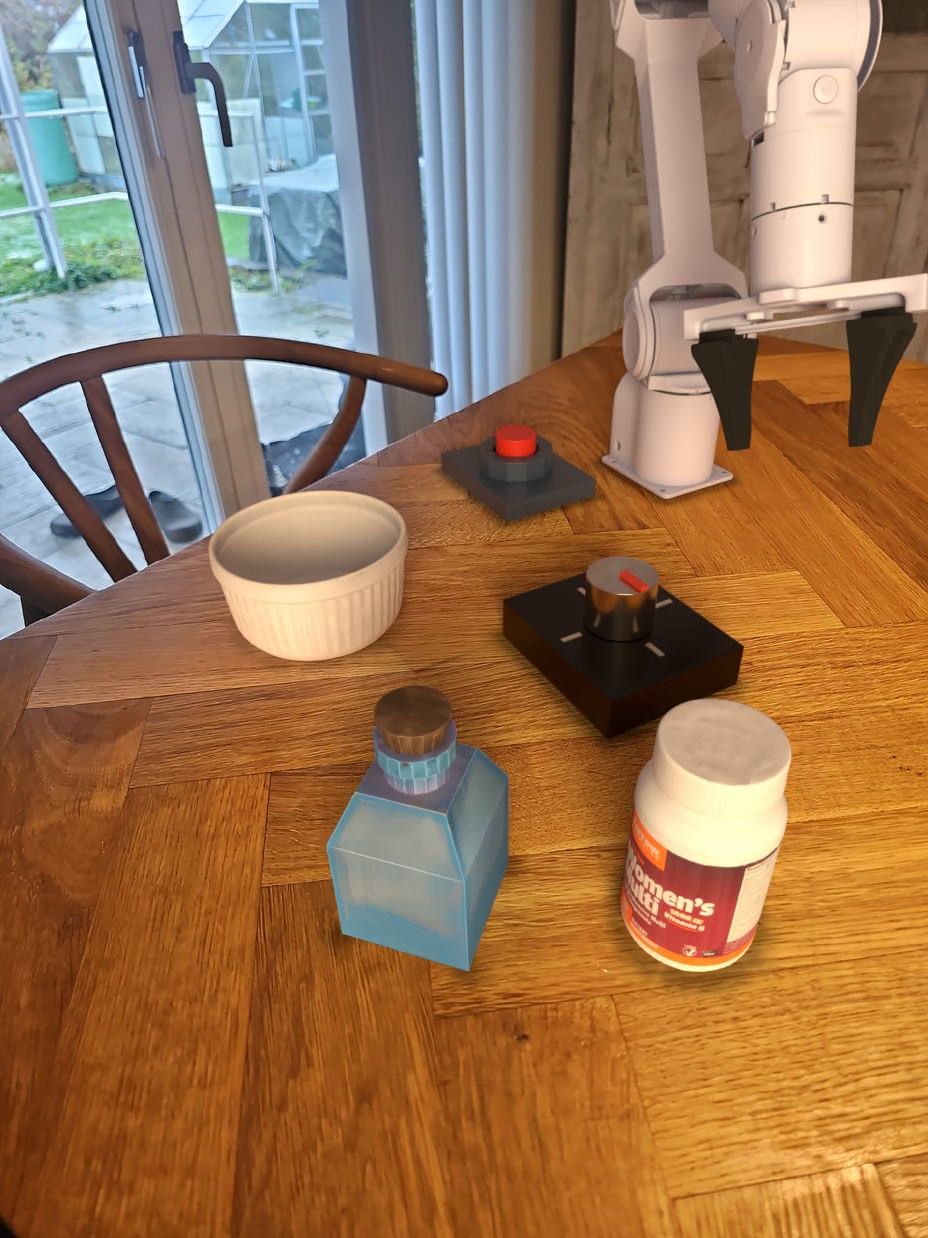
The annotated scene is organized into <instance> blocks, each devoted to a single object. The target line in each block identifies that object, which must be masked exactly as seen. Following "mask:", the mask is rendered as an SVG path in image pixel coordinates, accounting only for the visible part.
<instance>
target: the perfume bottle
mask: <svg viewBox="0 0 928 1238" xmlns="http://www.w3.org/2000/svg"><path fill="white" fill-rule="evenodd" d="M452 713H453V705H452V701H451V700H450V699H449V697H448V695H446V694H445V693H444V692H442V691H441V690H440V689H438V688H435V687H432V686H430V685H422V684H410V685H403V686H399V687H396V688H393V689H391V690H390V691H388V692H386V693H384V694H383V695H382V696H381V697H380V698H379V699H378V700H377V701H376V703H375V706H374V709H373V717H374V718H373V719H374V721H375V726H374V729H373V731H372V738H373V741H372V742H373V749H374V750H373V751H374V759H373V761H372V763H371V764H370V766H369V768H368V770H367V771H366V773H365V774H364V776H363V778H362V779H361V781H360V783H359V784H358V786H357V788H356V790H355V791H354V793H353V795H352V797H351V798H350V801H349V802H348V804H347V806H346V808H345V810H344V812H343V814H342V815H341V818H340V819H339V821H338V822H337V825H336V827H335V828H334V830H333V832H332V834H331V836H330V838H329V840H328V842H327V843H326V852H327V856H328V863H329V867H330V874H331V879H332V884H333V889H334V895H335V900H336V907H337V911H338V916H339V917H338V918H339V922H340V929H341V934H342V935H346V936H349V937H352V938H354V939H355V938H356V939H359V940H362V941H366V942H369V943H372V944H376V945H379V946H382V947H386V948H389V949H391V950H395V951H398V952H402V953H404V954H405V953H406V954H409V955H412V956H415V957H417V958H418V957H419V958H422V959H425V960H428V961H432V962H436V963H439V964H440V965H441V964H442V965H445V966H448V967H451V968H455V969H459V970H462V971H465V972H469V971H470V968H471V966H472V963H473V960H474V957H475V955H476V952H477V949H478V948H479V944H480V941H481V938H482V936H483V933H484V931H485V928H486V925H487V924H488V923H487V922H488V920H489V917H490V914H491V912H492V909H493V906H494V904H495V902H496V898H497V895H498V893H499V890H500V888H501V885H502V883H503V879H504V877H505V874H506V872H507V868H508V867H509V813H510V812H509V811H510V810H509V805H510V804H509V803H510V801H509V800H510V797H509V796H510V795H509V793H510V791H509V790H510V789H509V788H510V787H509V785H510V783H509V782H510V781H509V779H510V777H509V775H508V774H507V773H506V772H505V771H504V770H503V769H501V767H499V765H498V764H496V763H495V762H494V761H493V760H492V759H490V758H489V756H488V755H486V754H485V753H484V752H483V751H482V750H480V748H478V747H476V746H472V745H467V744H463V743H459V742H458V731H457V725H456V723H455V721H454V720H453V718H452Z"/></svg>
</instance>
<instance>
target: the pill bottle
mask: <svg viewBox="0 0 928 1238" xmlns="http://www.w3.org/2000/svg"><path fill="white" fill-rule="evenodd" d="M791 762H792V748H791V743H790V740H789V738H788V735H787V734H786V733H785V731H784V730H783V729H782V727H781V726H780V725H779V724H778V723H777V722H776V721H775V720H774V719H773V718H771V717H770V716H769V715H767V714H765V712H762V710H761V711H760V710H759V709H757V708H755V707H752V706H750V705H747V704H745V703H742V702H738V701H735V700H730V699H724V698H710V697H709V698H703V699H697V700H692V701H688V702H685V703H682V704H679V705H678V706H676V707H674V708H672V709H671V710H670V711H668V712H667V713H666V714H665V715H664V716H662V718H661V720H660V721H659V722H658V725H657V728H656V735H655V741H654V746H653V750H652V757H651V759H649V760H648V761H647V763H645V764H644V766H643V767H642V769H641V771H640V773H639V775H638V778H637V780H636V784H635V789H634V794H633V803H632V813H631V820H630V827H629V835H628V839H627V840H628V841H627V847H626V848H627V849H626V855H625V863H624V871H623V878H622V884H621V885H622V886H621V892H620V893H621V894H620V909H621V915H622V919H623V922H624V925H625V927H626V929H627V931H628V933H629V934H630V936H631V938H633V940H634V941H635V943H636V944H637V945H638V946H639V948H641V949H643V951H644V952H645V953H647V954H648V955H650V956H651V957H653V958H654V959H656V960H657V961H659V962H661V963H663V964H665V965H667V966H669V967H672V968H675V969H678V970H681V971H685V972H699V973H700V972H701V973H703V972H711V971H716V970H720V969H723V968H726V967H728V966H730V965H732V964H734V963H735V962H737V961H738V960H739V959H740V958H741V957H743V956H744V954H745V953H746V952H747V951H748V950H749V948H750V946H751V944H752V943H753V940H754V937H755V935H756V931H757V929H758V925H759V923H760V919H761V915H762V911H763V908H764V904H765V900H766V897H767V894H768V890H769V887H770V883H771V880H772V877H773V874H774V873H773V872H774V870H775V866H776V863H777V860H778V855H779V852H780V849H781V845H782V842H783V838H784V836H785V833H786V832H785V831H786V827H787V824H788V817H789V816H788V814H789V813H788V803H787V798H786V795H785V793H784V792H785V789H786V785H787V781H788V780H787V779H788V774H789V771H790V767H791Z"/></svg>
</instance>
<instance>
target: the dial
mask: <svg viewBox="0 0 928 1238" xmlns="http://www.w3.org/2000/svg"><path fill="white" fill-rule="evenodd" d="M586 572H587V573H586V587H585V603H584V624H585V626H586V627H587V629H588V630H589V631H591V632H592V633H593V634H595V635H597V636H599V637H601V638H604V639H607V640H612V641H632V640H636V639H640V638H642V637H644V636H646V635H647V634H648V633H649V632H650V631H651V630H652V628H653V624H654V616H655V608H656V600H657V592H658V585H660V584H659V582H660V575H659V572H658V571H657V569H656V568H655V566H653V565H651V564H650V563H648V562H646V561H644V560H643V559H639V558H636V557H631V556H622V555H621V556H619V555H615V556H614V555H613V556H606V557H603V558H600V559H597V560H595V561H594V562H592V563H591V564H590V565H589V566H588V567H587V570H586Z"/></svg>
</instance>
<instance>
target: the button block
mask: <svg viewBox="0 0 928 1238" xmlns="http://www.w3.org/2000/svg"><path fill="white" fill-rule="evenodd" d="M440 457H441V458H440V461H441V463H440V464H441V471H443V473H445V474H446V475H448V476H449V477H450V478H451V479H452V480H454V482H456V483H458V484H459V485H460V486H461V487H462V488H464V490H466V491H468V492H469V493H470V494H471V495H473V496H474V497H475V498H476V499H477V500H479V501H480V502H482V504H484V505H485V506H486V507H488V508H489V509H490V510H491V511H493V512H494V513H495V514H496V515H498V516H499V517H500V518H501V519H503V520H504V521H505V522H507V523H509V522H512V521H515V520H519V519H522V518H526V517H529V516H533V515H535V514H540V513H543V512H546V511H549V510H553V509H556V508H560V507H563V506H566V505H570V504H573V503H576V502H579V501H583V500H586V499H590V498H594V497H595V496H596V495H595V494H596V493H595V492H596V481H597V480H596V479H595V478H594V477H592V476H591V475H589V474H588V473H587V472H585V471H583V470H581V469H580V468H578V467H577V466H575V465H574V464H573V463H570V462H569V461H567V460H565V459H564V458H563V457H561V456H559V455H558V454H556V453H555V452H554V449H553V443H552V442H551V441H549V440H548V439H546V438H544V437H543V436H541V435H537V434H536V452H535V454H533V455H529V456H525V457H506V456H501V455H498V454H497V453H496V444H495V435H491V436H489V437H488V438H486V439H485V440H483V441H482V442H481V443H478V444H475V445H471V446H467V447H461V448H459V449H455V450H451V451H447V452H442V453H441V454H440Z"/></svg>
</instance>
